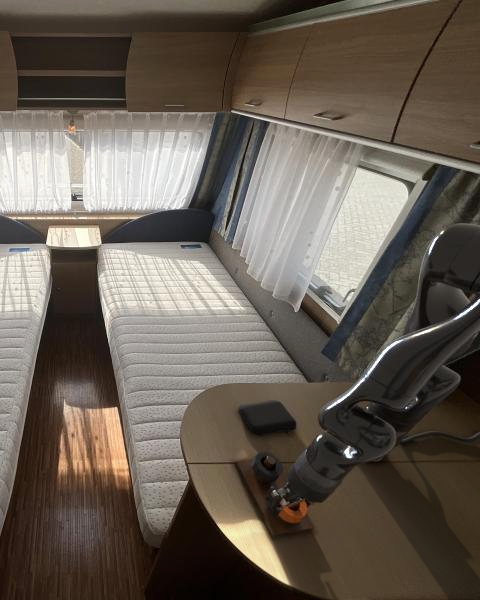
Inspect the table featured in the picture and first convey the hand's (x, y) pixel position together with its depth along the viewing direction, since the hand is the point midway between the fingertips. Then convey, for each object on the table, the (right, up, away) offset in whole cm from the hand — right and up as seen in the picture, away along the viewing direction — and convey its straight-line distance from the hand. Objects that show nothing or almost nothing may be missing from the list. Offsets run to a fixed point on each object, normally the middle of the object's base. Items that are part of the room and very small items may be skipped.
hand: (286, 509), depth 78 cm
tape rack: (-1, 0, +5) cm, 5 cm away
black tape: (-1, +6, +7) cm, 9 cm away
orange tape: (0, +1, 0) cm, 1 cm away
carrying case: (+8, +12, +22) cm, 27 cm away
